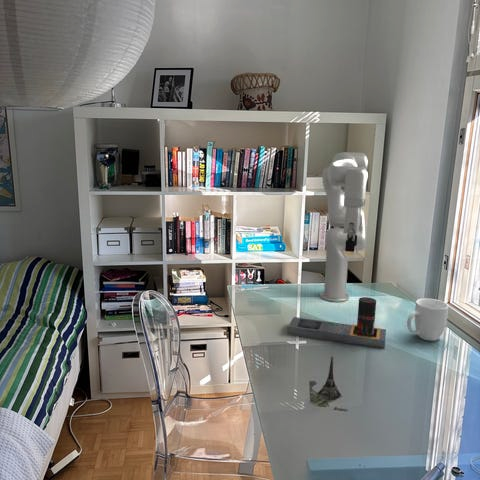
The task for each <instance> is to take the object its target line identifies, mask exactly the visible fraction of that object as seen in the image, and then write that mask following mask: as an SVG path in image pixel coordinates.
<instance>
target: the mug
mask: <svg viewBox="0 0 480 480" xmlns="http://www.w3.org/2000/svg"><path fill="white" fill-rule="evenodd" d="M448 314H449V304H448V303H446V302H445V301H443V300H439V299H434V298H419V299H417V300H416V301H415V307H414V311H412V312H411V313H410V314H409V315H408V318H407V321H406V327H407V330H409V332H410V333H412V334H415V335H417V336H418V337H419V338H420V339H422V340H425V341H428V342H429V341H430V342H435V341H438V340H439V339H440V338H441V337H442V335H443V333H444V331H445V329H446V326H447V322H448ZM413 318H414V327H415V330H413V329H412V319H413Z"/></svg>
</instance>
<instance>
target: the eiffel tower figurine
mask: <svg viewBox="0 0 480 480" xmlns="http://www.w3.org/2000/svg"><path fill="white" fill-rule="evenodd" d="M328 370H329V371H328V375H327V378H326V381H325V384H323V385H322V387H321V389H320V390H319V391H318V392H317V391H316V390H314V389H313V388H314V386H316V385H318V383H317V381H315V380H309V395H310V396H309V399H310V401H309V402H310V403H311V404H312V405H314V406H315V407H318V408H329V407H330V406H329V403H333V402H335V401H337V400H338V399H340V398H342V397H343V395H342V394H341V392H340V391H339V389H338V386H337V385H336V382H335V378H334V357H333V355H331V357H330V364H329V369H328ZM333 411H348V409H347V408H341V407H339V408H338V407H337V406H334V408H333Z"/></svg>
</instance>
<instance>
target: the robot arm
mask: <svg viewBox="0 0 480 480" xmlns="http://www.w3.org/2000/svg"><path fill="white" fill-rule="evenodd" d="M368 167H369V161H368V157H367V155H366V153H363V152H349V151H348V152H347V151H343V152H338V153H336V154H335V155H334V156H333V159H332V162H331V163H330V164H329V166H327V167H325V168H324V169H323V171H322V176H321V178H322V187H323V189H324V192H325V194H326V197H327V218H328V219H327V220H328V223H329V225H330V226H332V227H333V228H329V229H328V230H327V231H326V232H325V235H324V236H325V237H324V239H325V250H326V252H325V254H326V255H325V270H324V271H325V273H324V286H323V287H324V289H323V290H324V291H322V292H320V298H321V299H323V300H325V301H328V302H334V303H342V302H347V301H349V300H350V295H349V294H348V293H347V280H348V266H349V259H348V257H347V256H346V254H345V252H344V251H346V252H350V253H351V252H352V253H353V252H355V251H363V250H364V249H365V248H366V246H367V226H366V225H367V224H366V214H365V210H364V209H363V208H365V205H366V196H367V195H366V194H367V182H368V179H369V173H368V171H367V170H368ZM341 187H344V191H343V189H341Z"/></svg>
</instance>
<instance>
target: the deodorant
mask: <svg viewBox="0 0 480 480" xmlns="http://www.w3.org/2000/svg"><path fill="white" fill-rule="evenodd" d="M357 308H358V309H357V319H356V322H357V323H356V325H357V331H356V334H355V335H362V336H369V337H373V334H374V327H375V324H376V323H375V321H376V320H375V319H376V308H377V300H376V299H375V298H373V297H370V296H369V297H367V296H366V297H365V296H364V297H359V298H358V307H357Z"/></svg>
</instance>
